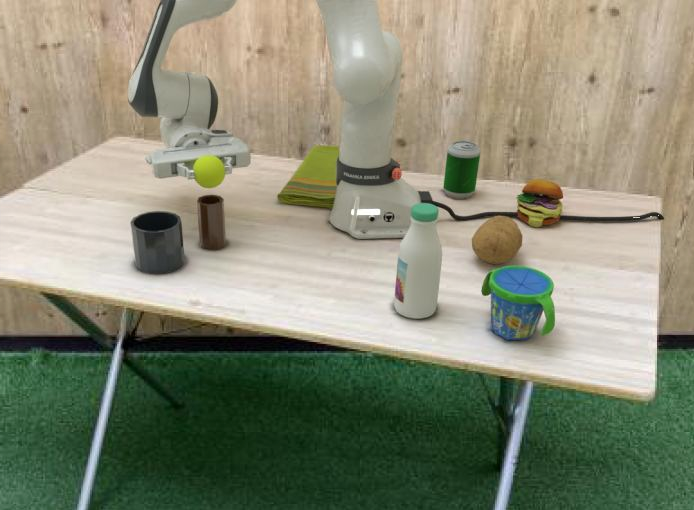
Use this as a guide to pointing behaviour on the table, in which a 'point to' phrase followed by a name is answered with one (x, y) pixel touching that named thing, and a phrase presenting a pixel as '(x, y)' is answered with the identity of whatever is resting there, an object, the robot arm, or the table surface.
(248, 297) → the table surface
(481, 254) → the potato
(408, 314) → the milk bottle
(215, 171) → the tennis ball
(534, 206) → the cheeseburger
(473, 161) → the soda can
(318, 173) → the dish towel
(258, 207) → the table surface
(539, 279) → the snack cup
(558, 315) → the table surface
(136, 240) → the dark grey round container
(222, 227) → the ball stand
